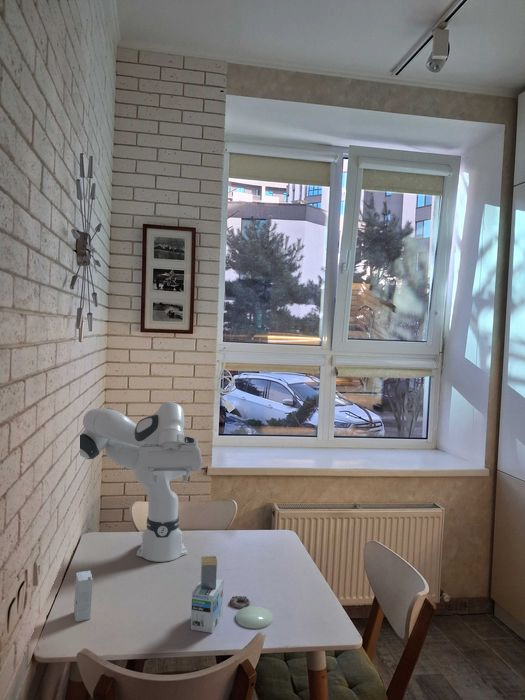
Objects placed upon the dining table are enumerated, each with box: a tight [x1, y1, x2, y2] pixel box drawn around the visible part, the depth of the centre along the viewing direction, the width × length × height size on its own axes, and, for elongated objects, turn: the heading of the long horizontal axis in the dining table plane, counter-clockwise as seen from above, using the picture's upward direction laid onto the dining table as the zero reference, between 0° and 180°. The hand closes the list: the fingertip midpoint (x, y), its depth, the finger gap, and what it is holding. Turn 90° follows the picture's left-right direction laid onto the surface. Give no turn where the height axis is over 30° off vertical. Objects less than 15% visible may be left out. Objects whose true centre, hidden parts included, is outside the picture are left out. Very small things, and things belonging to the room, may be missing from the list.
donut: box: [229, 595, 251, 609], centre depth 166 cm, size 8×8×2 cm
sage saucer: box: [235, 605, 274, 630], centre depth 158 cm, size 11×11×1 cm
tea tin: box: [200, 555, 218, 589], centre depth 155 cm, size 4×4×8 cm
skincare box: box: [73, 570, 94, 622], centre depth 156 cm, size 6×4×12 cm
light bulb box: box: [190, 578, 224, 634], centre depth 155 cm, size 11×7×11 cm, turn 168°
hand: (169, 481), depth 166 cm, fingers open, 8 cm apart
